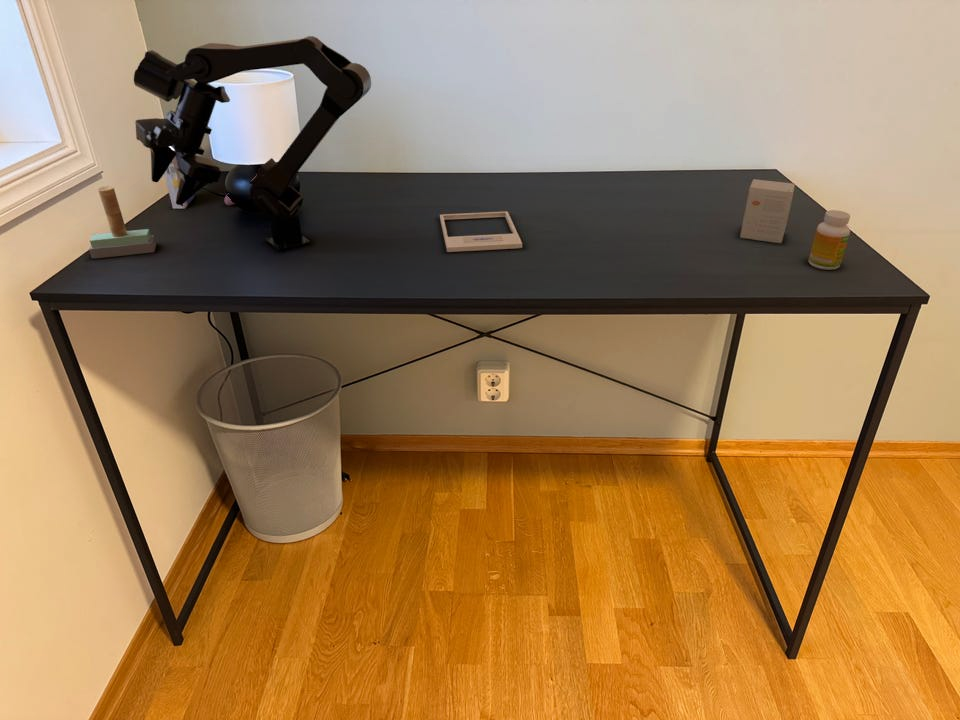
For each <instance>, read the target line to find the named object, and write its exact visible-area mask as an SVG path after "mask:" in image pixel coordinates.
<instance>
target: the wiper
mask: <svg viewBox="0 0 960 720" xmlns="http://www.w3.org/2000/svg"><path fill="white" fill-rule="evenodd" d="M97 190H98V194H99V197H100V200H101V203H102V207H103V210H104V213H105V216H106V221H107V223H108V226H109V230H110V232H105V233H95V234H92V235H91V236H90V239H89V243H90V247H89V248H88V251H89V254H90V257H91V259H94V260H96V259H102V258H103V259H104V258H113V257H121V256H122V257H123V256H132V255H140V254H142V255H143V254H150V253H155V251H156V247H157V242H156V238H155V235H151V232H150V228H144V229H135V230H127V227H126V225H125V222H124V217H123V214H122V210H121V207H120V203H119V201H118V200H119V199H118V197H117V193H116V191H115V187H114V186H110V185H105V186H101V187H99V188H98V189H97Z"/></svg>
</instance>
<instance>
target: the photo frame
mask: <svg viewBox="0 0 960 720" xmlns="http://www.w3.org/2000/svg"><path fill="white" fill-rule="evenodd" d="M488 218H490V219H491V218H505V220H506V222H507V224H508V226H509V230H510V231H511V233H497V234H495V233H494V234H479V235H478V234H477V235H476V234H475V235H460V236H459V235H458V236H448V230H447V227H446V223H445V221H446V220H448V221H449V220H467V219H468V220H469V219H470V220H471V219H488ZM439 220H440V226H441V230H442V235H443V241H444V245H445V249H446V253H455V252H457V253H458V252H474V251H492V250H494V251H495V250H508V249H511V250H513V249H523V242H522V240H521V237H520V235H519V233H518V232H517V229H516V226H515V224H514V223H513V220H512V218H511V215H510V214H509V211H507V210H506V211H488V212H466V213H444V214H439Z"/></svg>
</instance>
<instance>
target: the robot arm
mask: <svg viewBox="0 0 960 720" xmlns="http://www.w3.org/2000/svg"><path fill="white" fill-rule="evenodd" d="M296 65H304V66H305V67H307V68H308V69H309V70H310V72H312V74H313V75H314V76H315V77H316V78H317V80H319V81H320V82H321V83H322V84H323V85H324V86H325V87H326V88H325V90H324V93H323V96H322V99H321V101H320V103H319V106H318V107H317V109H316V110H315V112H314V113H313V114H312V116H311V117H310V119H309V120H308V121H307V122H306V123H305V125H304V126H303V128H302V129H301V130H300V132H299V133H298V134H297V135H296V136H295V138H294V139H293V141H292V142H291V143H290V145H289V146H288V148H287V149H286V150H285V152H284V153H283V154H282V155H281V157H280V158H279V159H278V161H277V162H276V161H275V159H274V158H273V157H271V158H270V159H268V160H267V161H265V163H264V164H262V165H261V166H260V167H259V169H258V170H257V173H256V176H255V177H254V178H253V179H252V180H251V181H250V182H249V183H250V184H252V186H251V187H250V189H249V195H250V197H249V199H250V201H251V202H252V204H253V205H254V206H255V207H256V208H257V210H258V211H259V213H260V214H261V216H262V218H263V220H264V221H267V222H268V221H269V227H270V232H271V237H269V238H266V243H268V244H269V245H270V246H272V247H273V248H274V249H276V250H277V251H278V252H282V251H286V250H290V249H295V248H298V247H302V246H306V245H309V244H310V240H309V239H307V237H305V236H303V232H302V226H301V218H300V212H299V210H298V209H299V208H301V207H302V206H303V200H304V196H303V195H302V194H301V193H300V192H299V191H297V189H295V188H294V187H293V186H294V184H295V181H296V179H297V176H298V173H299V171H300V169H301V168H302V167H303V165H304V164H305V163H306V162H307V160H308V159H309V158H310V156H311V155H312V154H313V153H314V151H315V150H316V149H317V147H318V146H319V145H320V143H321V142H322V141H323V140H324V138H325V137H326V136H327V134H328V133H329V132H330V130H331V129H332V128H333V127H334V125H335V124H336V123H337V122H338V120H339V119H340V118H341V117H342V116H343V115H344V114H346V112H348V111H349V110H350V109H351V108H352V107H354V106H355V104H357V103H358V102H359V101H360V100H361V99H362V98H364V96H366V95H367V94H368V93H369V92H370V90H371V88H372V77H371V75H370V72H369V70H368V69H367V68H366V67H365V66H363V65H362V64H361V63H357V62H352V61H351V60H349V59H348V58H347V57H346V56H344V55H343V54H341V53H340V52H337V51H336V50H334V49H333V48H331V47H329V46H328V45H327V44H325V42H322V41H321V40H320V39H319V38H318V37H316V36H313V35H308V36H305V37H304V38H298V39H297V38H296V39H288V40H282V41H281V40H280V41H274V42H265V43H260V44H259V43H257V44H250V45H244V46H243V45H234V44H228V43H216V42H208V43H206V44H205V43H204V44H202V45H200V46H197V47H193V48H191V49H188V51H187V52H186V55H185V56H184V61H183V62H180V63H175V62H173V61H172V60H170V59H167V58H166V57H164V56H162V55H161V54H160V53H159V52H157V51H155V50H153V49H152V50H151V49H150V50H148V51H145V53H144V56H143V59H142V60H140V62H139V63H138V66H137V68H136V69H135V70H134V74H133V84H134V86H135V87H137V88H139V89H141V90H143V91H145V92H146V93H149V94H151V95H153V96H154V97H157V98H159V99H161V100H163V101H165V102H171V101H172V100H178V101H177V104H176V107H175V110H171V109H170V110H169V111H168V112H167V113H166V115H165V118H159V117H158V118H156V117H154V118H141V119H136V120H135V123H134V124H135V137H136V140H137V141H139V142H141V144H142V145H143V147H145V148H147V149H149V151H150V168H151V170H150V172H151V181H152V183H159V181H161V179H162V178H163V176H164V173H165V171H166V170H167V168H168V167H169V165H170V164H171V162H172V160H173V159H174V157H175V156H176V154H177V155H179V156H180V157H181V159H180V162H179V165H180V169H178V168H177V171H178V173H179V175H180V177H181V180H180V184H179V188H178V193H177V197H176V204H177V205H182V204H184V203H185V202H186V201H187V200H188V199H189V198H190V197H191V196H193V195H194V196H195V194H197V192H199V191H200V190H201V189H203V188H204V187H205V186H207V185H208V184H211V185H212V184H213V183H219V181H220V178H221V174H222V170H221V169H220V167H219V166H218V165H217V164H216V163H215V162H213V161H212V160H211V159H210V158H207V157H202V156H204V153H205V149H204V148H203V147H201V146H202V143H203V140H204V137H205V134H207V135H211V134H212V130H213V129H212V128H211V127H209V124H210V120H211V118H212V114H213V111H214V108H215V106H216V103H217V102H219V103H222V104H223V103H224V104H225V103H230V102H231V99H230V97H229V95H228V93H227V91H226V87H225V86H223V85H220V86H217V87H216V86H213V85H212V84H210V83H213V82H217V81H219V80H223V79H225V78H228V77H230V76H233V75H236V74H239V73H242V72H248V71H249V72H250V71H255V70H256V71H257V70H264V69H265V70H266V69H271V68H272V69H273V68H279V67H280V68H281V67H289V66H296ZM199 155H200V156H199Z"/></svg>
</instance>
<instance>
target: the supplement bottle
mask: <svg viewBox="0 0 960 720" xmlns="http://www.w3.org/2000/svg"><path fill="white" fill-rule="evenodd" d="M850 219H851V215H850V213H848V212H846V211H843V210H838V209H837V210H835V209H831V210H826V211H825V213H824V217H823V221H822V222H820V223H819V224H818V225H817V227H816V231H815V235H814V239H813V242H812V245H811V249H810V250H811V251H810V254H809V257H808V263H809V265H810V266H812V267H814V268H816V269H819V270H826V271H834V270H838V269H839V268H840V266H841V264H842V261H843V258H844V254H845V251H846V248H847V244H848V241H849V238H850V234H851V229H850V227H849V225H848V224H849V223H850Z"/></svg>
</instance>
